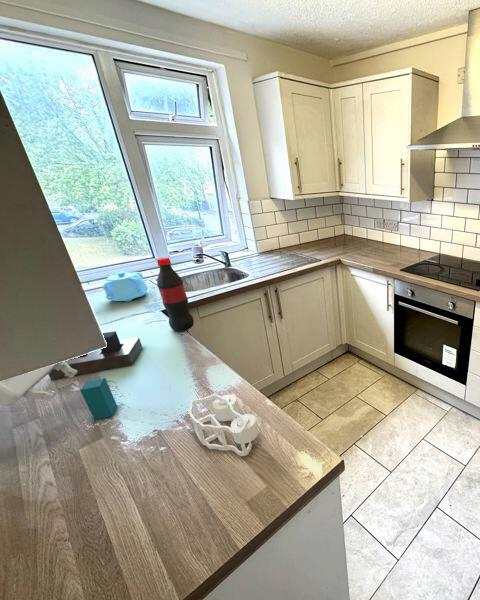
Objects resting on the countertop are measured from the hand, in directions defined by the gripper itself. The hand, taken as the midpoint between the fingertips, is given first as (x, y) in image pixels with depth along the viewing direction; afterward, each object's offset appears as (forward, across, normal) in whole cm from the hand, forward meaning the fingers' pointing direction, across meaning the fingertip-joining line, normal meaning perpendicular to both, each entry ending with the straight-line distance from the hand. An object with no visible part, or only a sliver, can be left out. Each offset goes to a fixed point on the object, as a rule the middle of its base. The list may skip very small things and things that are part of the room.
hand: (64, 385), depth 85 cm
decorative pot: (-9, -95, -24) cm, 98 cm away
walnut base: (+2, -30, -13) cm, 33 cm away
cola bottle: (+16, -50, +1) cm, 52 cm away
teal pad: (+12, 0, -4) cm, 12 cm away
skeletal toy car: (+36, +18, +20) cm, 44 cm away
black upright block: (+5, -30, -10) cm, 32 cm away
